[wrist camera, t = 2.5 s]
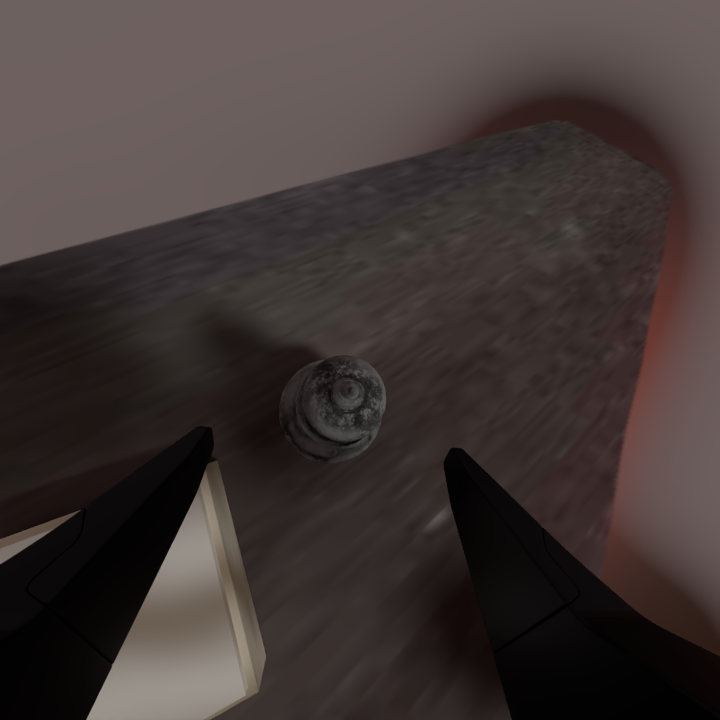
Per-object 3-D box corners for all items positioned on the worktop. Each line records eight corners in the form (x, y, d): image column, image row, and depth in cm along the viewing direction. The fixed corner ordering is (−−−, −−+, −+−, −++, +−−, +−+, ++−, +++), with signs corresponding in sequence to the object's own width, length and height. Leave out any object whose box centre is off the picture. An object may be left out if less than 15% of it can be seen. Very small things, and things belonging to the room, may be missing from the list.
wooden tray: (266, 655, 15) (256, 700, 12) (26, 787, 12) (-44, 874, 10) (217, 460, 17) (201, 466, 14) (-1, 539, 14) (-64, 562, 12)
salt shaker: (307, 473, 17) (295, 566, 6) (271, 392, 18) (197, 337, 7) (384, 430, 19) (493, 438, 7) (347, 357, 20) (394, 262, 8)
